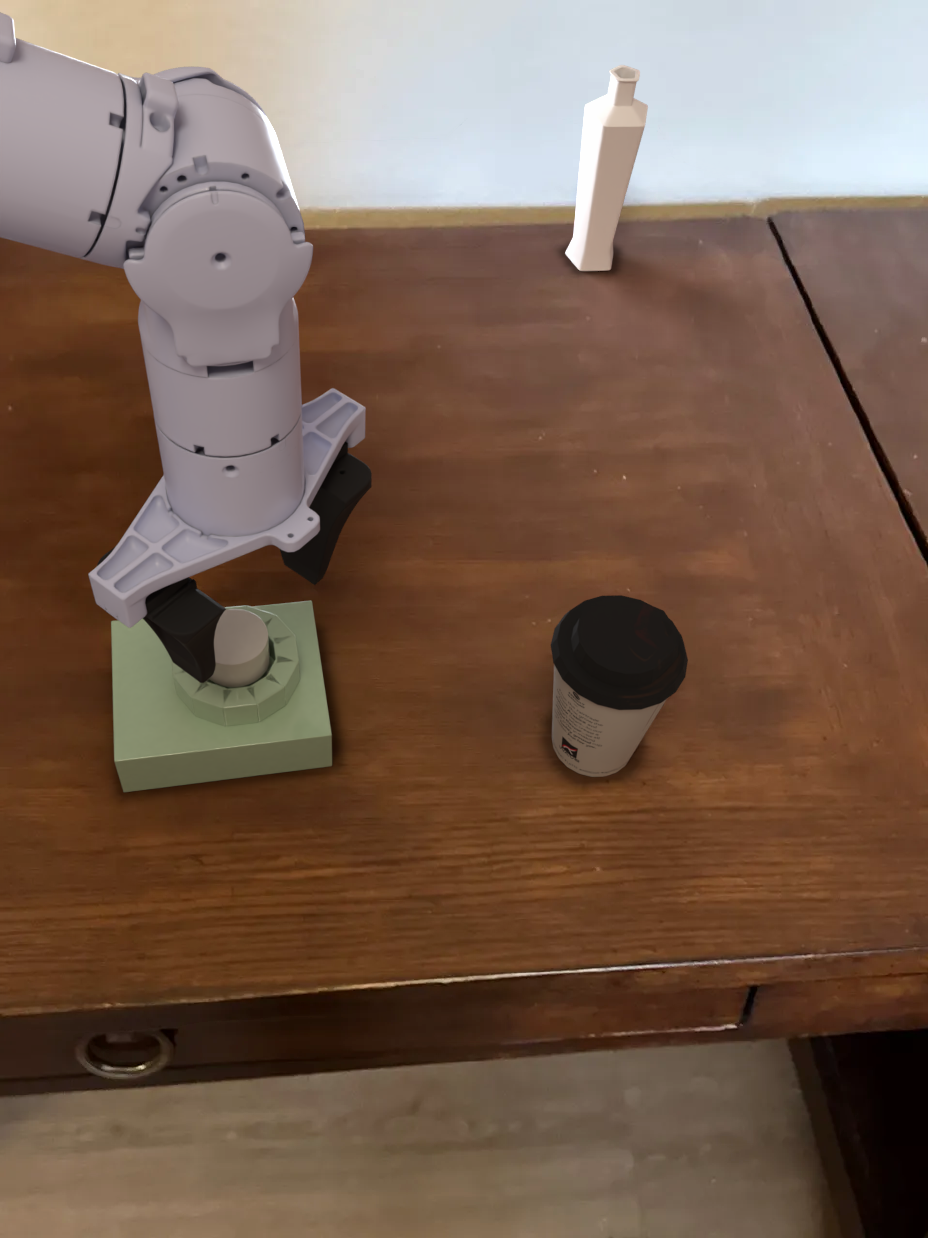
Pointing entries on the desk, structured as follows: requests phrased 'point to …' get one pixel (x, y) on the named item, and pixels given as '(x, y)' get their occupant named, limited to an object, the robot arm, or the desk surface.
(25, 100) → the robot arm
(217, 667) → the beige button cap
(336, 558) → the desk surface
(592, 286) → the desk surface
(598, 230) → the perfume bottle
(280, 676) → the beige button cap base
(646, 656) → the coffee cup
